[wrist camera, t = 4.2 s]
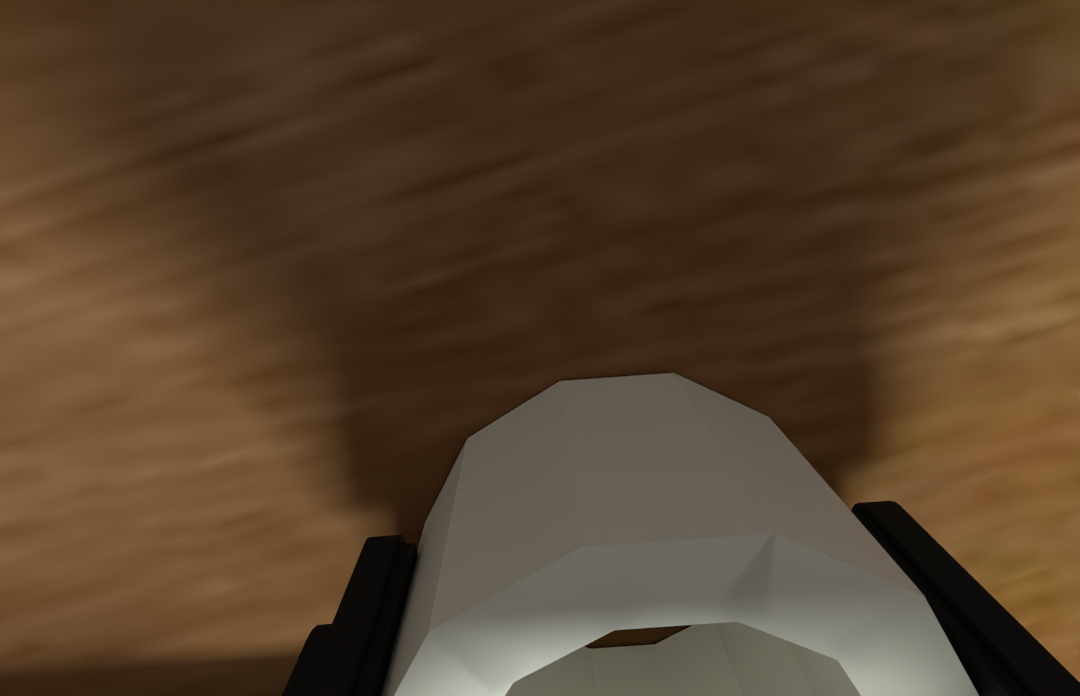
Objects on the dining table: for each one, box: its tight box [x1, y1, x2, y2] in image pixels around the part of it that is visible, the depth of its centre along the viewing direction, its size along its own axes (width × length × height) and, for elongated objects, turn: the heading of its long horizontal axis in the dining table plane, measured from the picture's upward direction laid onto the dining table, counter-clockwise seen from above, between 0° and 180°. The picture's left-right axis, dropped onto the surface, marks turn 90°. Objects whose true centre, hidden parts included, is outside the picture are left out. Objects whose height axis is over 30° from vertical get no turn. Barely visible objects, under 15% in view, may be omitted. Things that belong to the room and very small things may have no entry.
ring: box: [381, 373, 979, 696], centre depth 9 cm, size 7×7×4 cm
